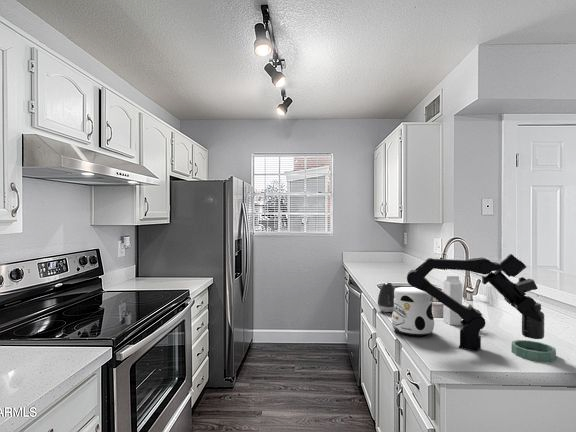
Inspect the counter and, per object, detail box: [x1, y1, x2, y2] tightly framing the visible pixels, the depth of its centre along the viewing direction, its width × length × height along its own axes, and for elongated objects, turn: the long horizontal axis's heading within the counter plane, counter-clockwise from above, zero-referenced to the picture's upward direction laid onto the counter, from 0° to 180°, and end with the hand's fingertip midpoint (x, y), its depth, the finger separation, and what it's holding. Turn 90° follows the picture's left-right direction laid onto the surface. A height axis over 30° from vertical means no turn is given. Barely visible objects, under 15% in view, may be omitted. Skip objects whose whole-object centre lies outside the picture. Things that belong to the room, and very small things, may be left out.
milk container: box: [391, 286, 435, 337], centre depth 157 cm, size 17×17×18 cm
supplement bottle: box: [521, 302, 545, 340], centre depth 133 cm, size 7×7×12 cm
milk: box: [442, 275, 463, 326], centre depth 172 cm, size 6×6×22 cm
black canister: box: [377, 282, 395, 313], centre depth 192 cm, size 10×10×15 cm
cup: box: [511, 339, 557, 363], centre depth 132 cm, size 13×13×3 cm
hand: (537, 318), depth 132 cm, fingers closed on supplement bottle, 7 cm apart
